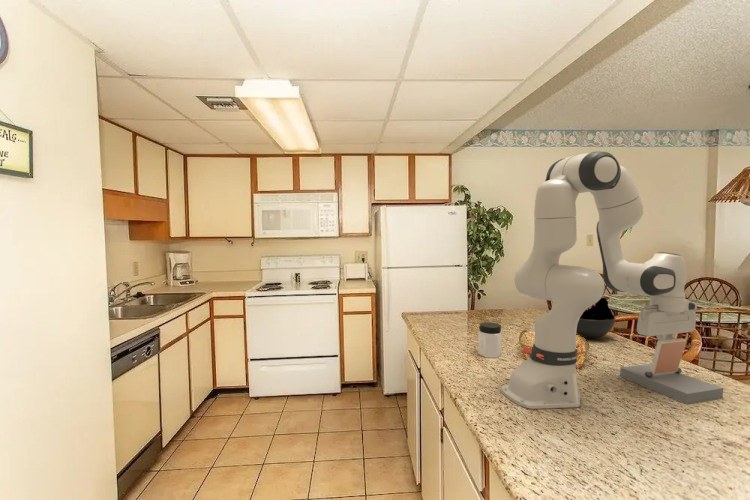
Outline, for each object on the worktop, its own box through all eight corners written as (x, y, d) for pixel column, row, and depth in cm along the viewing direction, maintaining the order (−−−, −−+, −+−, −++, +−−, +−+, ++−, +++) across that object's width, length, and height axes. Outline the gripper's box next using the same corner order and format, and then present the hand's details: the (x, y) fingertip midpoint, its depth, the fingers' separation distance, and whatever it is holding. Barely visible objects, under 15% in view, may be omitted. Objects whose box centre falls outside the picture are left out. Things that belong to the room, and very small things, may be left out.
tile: (649, 372, 118) (653, 375, 116) (657, 340, 115) (662, 343, 114) (673, 369, 120) (677, 371, 119) (682, 338, 118) (686, 340, 116)
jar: (474, 352, 150) (474, 323, 149) (490, 350, 153) (490, 321, 153) (489, 359, 142) (489, 328, 141) (505, 356, 145) (506, 326, 144)
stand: (686, 404, 105) (687, 387, 105) (620, 376, 125) (620, 362, 125) (722, 398, 109) (723, 382, 109) (652, 371, 129) (652, 358, 129)
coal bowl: (620, 345, 158) (622, 301, 157) (568, 341, 165) (569, 299, 164) (607, 333, 177) (609, 293, 176) (561, 329, 184) (562, 291, 183)
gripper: (651, 308, 111) (650, 353, 112) (701, 304, 117) (699, 347, 118) (631, 304, 117) (630, 347, 118) (679, 300, 123) (678, 341, 124)
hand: (665, 347), depth 118 cm, fingers closed, pressing on tile
